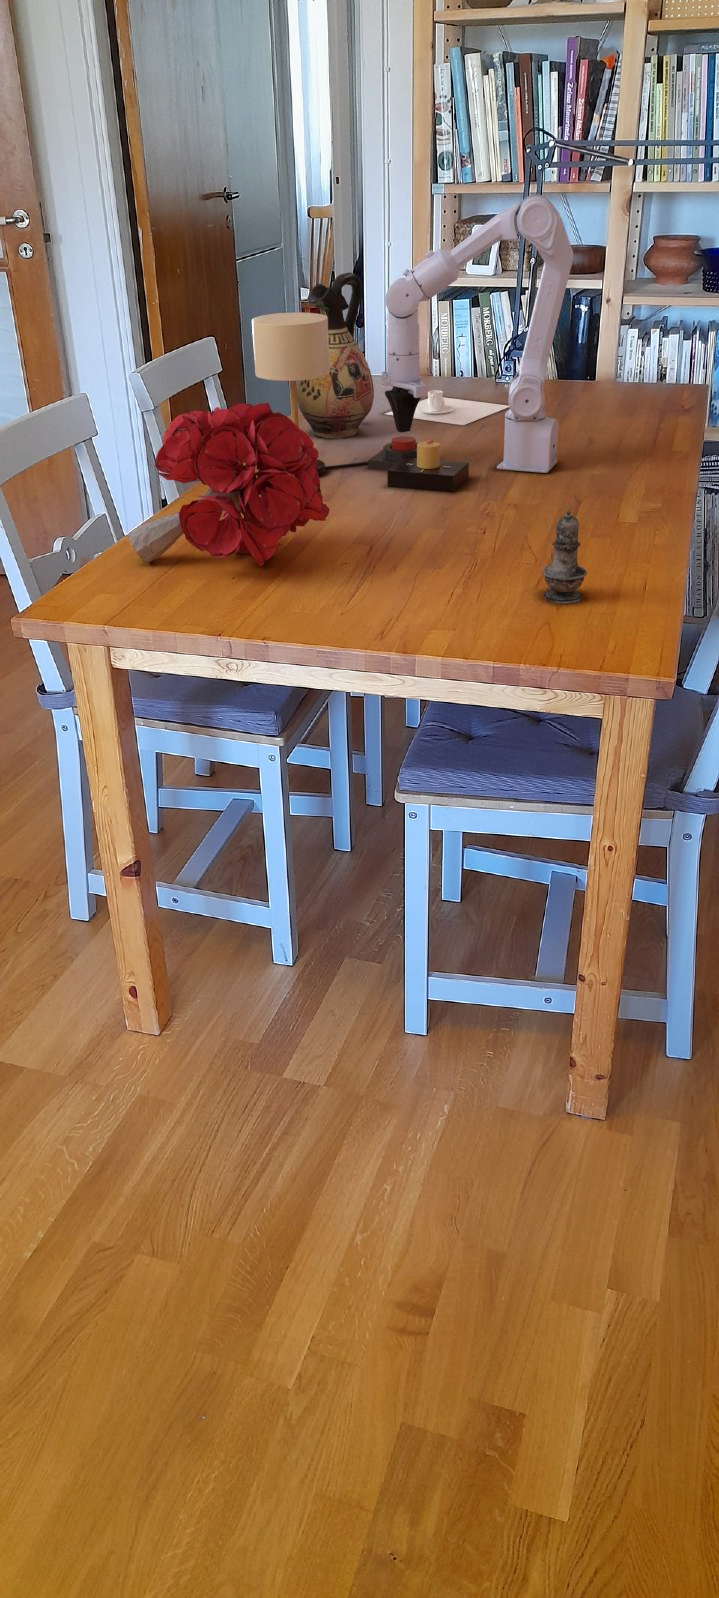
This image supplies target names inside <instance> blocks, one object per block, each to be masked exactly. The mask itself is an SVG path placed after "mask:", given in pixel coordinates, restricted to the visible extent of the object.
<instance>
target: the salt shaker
mask: <svg viewBox="0 0 719 1598" xmlns="http://www.w3.org/2000/svg"><path fill="white" fill-rule="evenodd" d="M571 513H572V512H571V510H570V509H567V510H566V511H565V515H564V516H561V517H559V518H558V519H557V521H556V526H555V527H556V528H555V529H556V530H555V540H554V541H553V542H552V546H553V547H554V550H553V553H554V554H553V560H552V564H550V565H548V566H545V567H544V568H543V569H542V574H543V575H544V581H545V583H546V585H547V587H549V590H546V591H545V592H544V593H543V595H542V598H543V599H544V600H546V602H547V601H548V602H550V603H554V604H559V605H560V604H561V605H569V604H575V603H579V602H580V601H582V600H583V598H584V596H583V594H582V593H581V592H580V591H578V589H579V588H580V587H581V586H582V585H583V582H584V580H585V577H586V576H587V574H588V571H587V569H586V568H584V567H583V566H581V565H579V563H578V551H579V549H578V548H579V547H580V546H581V542H580V541H579V526H580V522H579V520H578V518H576V517H575V516H573V515H571Z"/></svg>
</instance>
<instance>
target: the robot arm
mask: <svg viewBox="0 0 719 1598" xmlns="http://www.w3.org/2000/svg"><path fill="white" fill-rule="evenodd" d="M518 232H519V233H520V235H521V236H522V237H523V238H524V239H526V240H527V241H528V242H529V243H530V244H532V245H533V246H534V247H535V248H536V250H537V252H538V254H539V255H540V257H541V258H542V260H543V265H542V271H541V275H540V279H539V283H538V287H537V291H536V296H535V300H534V304H533V308H532V313H531V317H530V321H529V326H528V329H527V333H526V338H525V342H524V347H523V351H522V356H521V359H520V362H519V365H518V368H517V371H516V374H515V375H514V377H512V379H511V381H509V385H508V388H507V396H508V406H509V407H508V408H509V409H508V410H507V411H506V412H505V413H504V435H503V436H504V438H503V460H502V461H501V462H500V463H498V465H497V466H496V469H497V470H501V471H502V470H505V471H516V472H526V473H527V472H529V473H540V474H541V473H542V474H547V473H549V472H550V471H551V469H553V468H554V466H555V465H557V463H558V444H559V421H558V419H557V418H554V417H550V416H549V417H548V416H547V413H546V410H545V409H544V407H545V403H546V396H545V392H544V385H545V382H546V381H545V380H546V376H547V370H548V369H547V367H548V362H549V359H550V358H549V357H550V356H551V355H550V354H551V351H552V346H553V343H554V339H555V334H556V331H557V327H558V323H559V319H560V318H559V317H560V314H561V310H562V306H563V301H564V297H565V294H566V289H567V285H568V281H569V277H570V273H571V269H572V265H573V261H574V250H573V248H572V245H571V242H570V239H569V236H568V233H567V229H566V227H565V224H564V221H563V219H562V216H561V214H560V213H559V211H558V210H557V208H556V206H555V205H554V204H553V203H552V202H551V200H549V198H547V197H546V196H545V195H542V194H531V195H528V196H526V197H525V198H523V200H522V201H521V202H520V203H519V204H518V203H515V204H513V205H511V206H509V207H507V208H506V209H504V210H502V211H500V212H499V213H497V214H496V215H495V216H493V217H491V219H489V220H488V221H486V222H485V223H484V224H483V225H481V226H480V227H479V228H478V229H477V230H475V231H474V232H473V233H471V234H470V235H469V236H467V237H466V238H465V239H463V240H462V241H461V242H460V243H458V244H457V245H456V246H454V247H453V248H452V249H450V250H447V249H443V248H439V249H437V250H436V251H434V250H433V249H430V250H429V251H427V252H426V253H425V257H426V258H425V259H423V260H422V261H421V262H419V263H418V264H417V265H414V267H413V268H411V269H408V268H406V269H404V271H403V272H402V275H403V277H398V278H396V279H395V280H393V282H391V283H390V285H389V286H388V289H387V290H386V292H385V299H384V300H385V301H384V302H385V306H386V309H387V314H386V320H387V325H386V371H381V381H380V383H381V385H382V386H384V387H385V386H386V387H387V386H391V387H392V388H391V389H390V390H389V389H388V390H385V391H384V395H385V397H386V399H387V401H388V403H389V406H390V409H391V411H392V412H393V415H392V417H393V421H394V425H395V428H396V431H397V432H398V433H400V434H401V433H408V432H411V429H412V425H413V421H414V418H413V417H414V413H415V410H416V407H417V405H418V403H419V401H421V399H422V398H426V397H427V385H426V384H424V382H423V381H422V379H421V377H420V324H419V309H418V308H419V306H420V303H421V302H428V301H429V300H430V299H431V300H432V298H433V297H435V296H436V295H438V294H439V293H441V292H442V291H444V289H446V288H448V287H449V286H450V285H452V284H453V283H454V282H456V281H457V280H458V278H459V273H460V269H461V267H463V266H464V265H466V264H468V263H469V262H470V261H472V260H473V259H475V258H476V257H478V256H479V255H481V254H483V253H484V252H485V251H487V250H488V249H490V248H491V247H493V246H494V245H496V244H497V243H499V242H500V241H501V242H502V241H516V240H518Z"/></svg>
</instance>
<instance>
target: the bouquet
mask: <svg viewBox="0 0 719 1598" xmlns="http://www.w3.org/2000/svg"><path fill="white" fill-rule="evenodd" d="M270 404H271V403H270V402H266V403H265V402H262V403H261V402H260V403H257V404H255V405H252V404H251V403H238V404H235V405H232V406H229V408H220V407H219V406H216V407H214V409H213V410H211V411H209V410H207V411H204V410H193V411H189V412H184V413H181V414H180V415H177V416H176V417H175V418H174V419H173V420H172V421H171V422H170V423H169V427H168V430H167V429H166V430H165V432H164V434H163V435H162V436H163V437H162V446H161V447H160V448H159V450H158V451H157V453H156V456H155V460H154V461H155V463H154V467H155V468H156V469H157V471H158V472H157V471H156V472H155V473H156V474H157V475H159V476H160V477H162V478H163V479H165V480H166V481H175V482H179V483H181V484H188V483H194V482H199V481H200V483H202V484H203V485H204V486H206V485H207V486H208V487H209V488H208V489H207V490H206V492H205V493H203V495H197V497H198V498H199V499H195V500H191V501H190V503H188V504H187V503H186V504H182V505H181V508H180V509H179V511H178V512H175V513H172V514H170V515H166V516H163V517H160V518H156V519H153V520H151V521H148V522H145V523H143V524H141V525H139V526H138V527H136V528H134V529H132V530H131V531H130V532H128V540H129V543H130V545H131V547H132V549H133V550H134V552H135V553H136V555H137V556H138V557H139V558H140V560H142V562H145V563H146V564H148V563H151V562H153V561H154V560H156V559H158V558H159V557H161V556H162V555H163V554H164V553H165V552H167V551H168V550H169V549H170V548H171V547H172V546H173V545H174V544H175V543H176V542H177V541H178V540H179V538H181V536H183V534H184V537H185V540H186V541H187V542H188V543H189V544H190V545H191V546H193V548H196V549H197V550H199V551H200V552H206V553H208V554H209V555H210V556H211V557H213V558H227V557H230V556H231V555H232V554H234V553H235V554H236V553H241V554H250V555H251V556H252V559H253V560H254V561H255V562H256V563H257V564H258V565H259V566H260V567H263V566H264V564H265V563H266V561H269V560H270V559H271V558H272V556H273V555H274V554H275V552H276V550H277V547H278V544H279V542H280V541H281V540H282V538H283V537H286V536H287V534H288V533H289V532H291V533H297V527H306V525H307V524H308V522H309V521H310V520H312V521H314V522H315V521H316V522H318V521H319V522H325V521H327V518H328V517H329V515H330V508H329V507H328V505H327V504H326V503H324V496H323V494H322V490H321V478H320V476H319V475H318V472H317V470H318V463H317V460H318V458H319V451H318V449H317V448H316V447H314V446H315V443H314V441H313V440H312V438H311V437H310V436H309V434H308V433H307V432H306V431H304V430H303V429H301V428H300V426H299V427H298V426H297V425H296V424H295V423H294V422H293V421H292V419H290V418H289V416H287V415H285V414H283V413H282V412H273V409H272V407H271V405H270ZM316 459H317V460H316ZM256 470H257V472H256ZM223 512H224V513H223ZM221 518H222V519H221Z"/></svg>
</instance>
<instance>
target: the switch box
mask: <svg viewBox="0 0 719 1598" xmlns="http://www.w3.org/2000/svg"><path fill="white" fill-rule="evenodd" d="M418 443H419V442H416V449H412V450H394V449H392V442H391V443H387V444H385V445H384V446H383V447H382V448H383V449H381V450H380V451H379V452H377V453H376V454H375V455H373V456H372V457H371V458H369V459H368V460H367V462H368V465H367V466H368V467H367V468H368V470H375V471H378V470H379V471H387V470H389V469H390V468H391V467H393V466H394V465H395V464H397V463H398V462H399V461H401V460H402V459H403V458H405V457H407V458H417V444H418Z"/></svg>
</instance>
